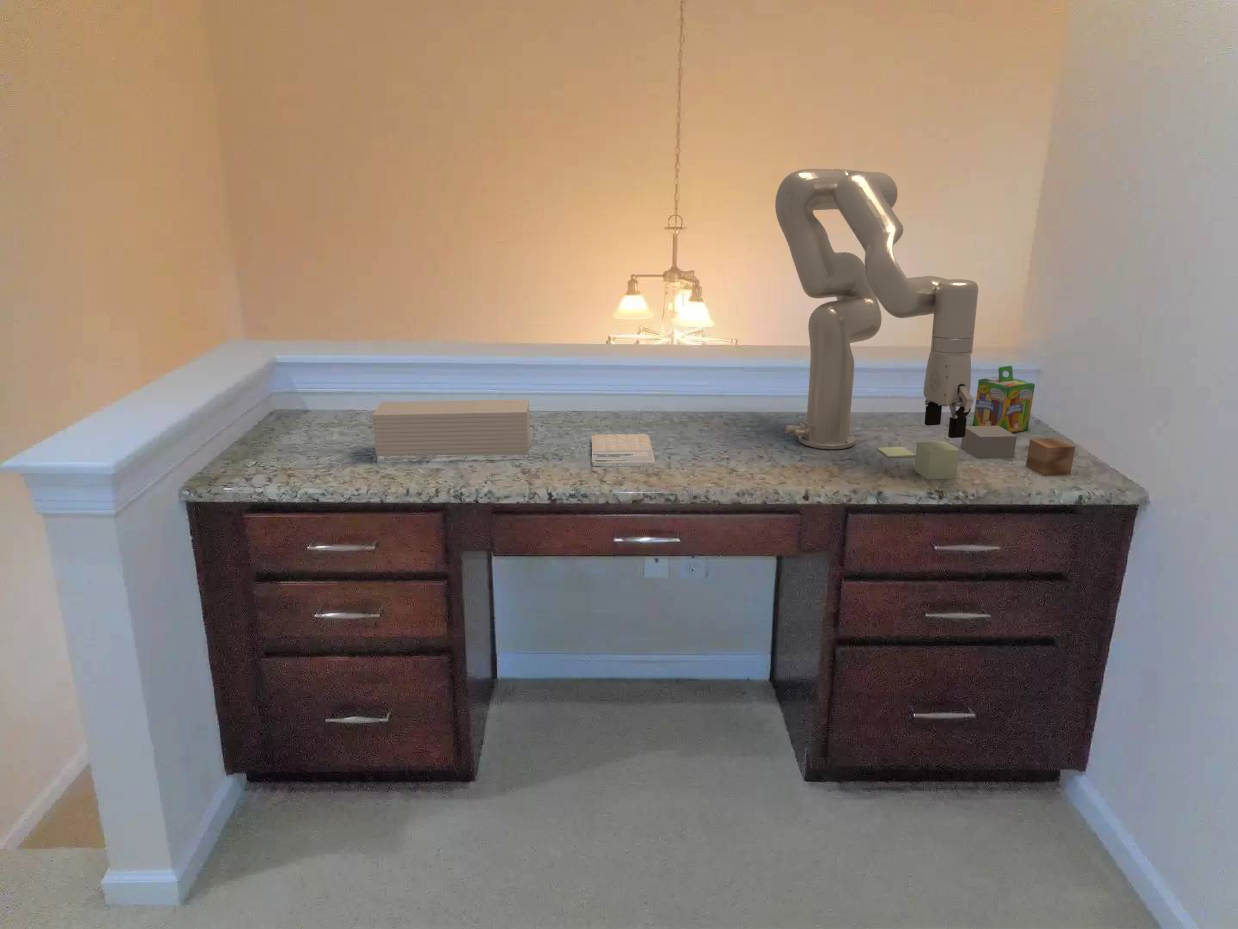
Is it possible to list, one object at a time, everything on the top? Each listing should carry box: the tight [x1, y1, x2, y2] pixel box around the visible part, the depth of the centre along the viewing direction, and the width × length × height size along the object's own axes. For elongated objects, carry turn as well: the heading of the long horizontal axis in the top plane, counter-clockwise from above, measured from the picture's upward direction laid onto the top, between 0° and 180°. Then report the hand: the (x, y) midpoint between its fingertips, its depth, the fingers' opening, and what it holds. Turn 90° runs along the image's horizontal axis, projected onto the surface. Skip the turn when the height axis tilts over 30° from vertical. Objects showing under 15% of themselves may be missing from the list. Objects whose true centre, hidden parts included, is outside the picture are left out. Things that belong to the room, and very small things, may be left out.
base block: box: [960, 425, 1018, 459], centre depth 188 cm, size 8×8×5 cm
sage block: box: [913, 440, 960, 481], centre depth 174 cm, size 6×6×6 cm
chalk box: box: [972, 365, 1036, 434], centre depth 204 cm, size 9×9×15 cm
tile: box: [876, 446, 916, 459], centre depth 188 cm, size 6×6×1 cm
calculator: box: [590, 433, 656, 464], centre depth 189 cm, size 13×20×2 cm, turn 2°
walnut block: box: [1025, 437, 1076, 477], centre depth 176 cm, size 6×6×6 cm
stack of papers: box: [371, 398, 531, 457], centre depth 187 cm, size 32×11×11 cm, turn 94°
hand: (944, 430), depth 171 cm, fingers open, 9 cm apart
